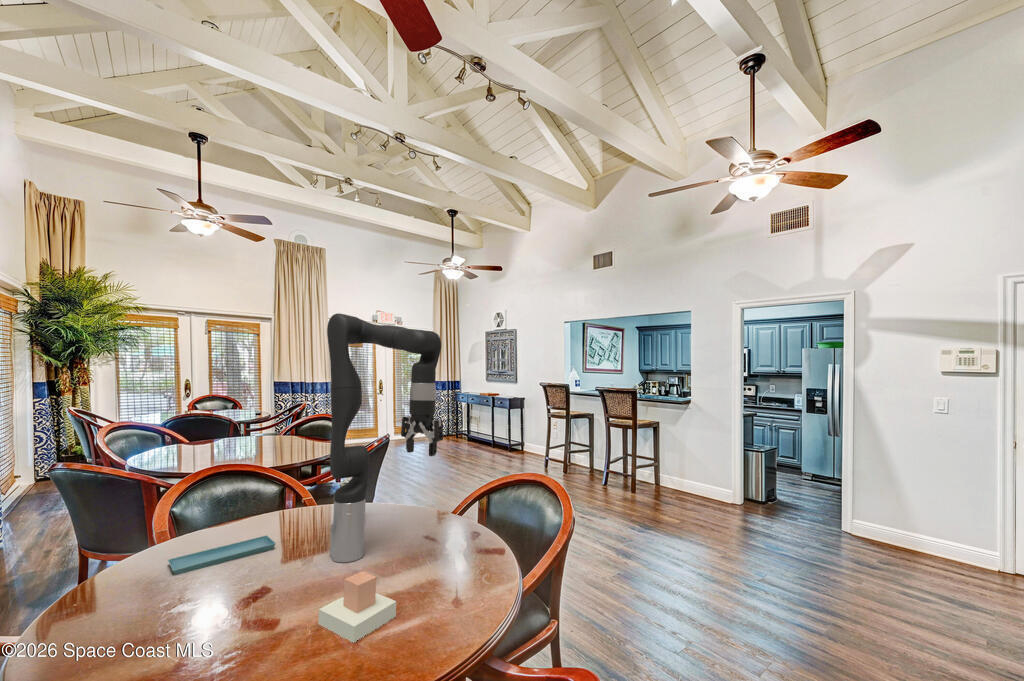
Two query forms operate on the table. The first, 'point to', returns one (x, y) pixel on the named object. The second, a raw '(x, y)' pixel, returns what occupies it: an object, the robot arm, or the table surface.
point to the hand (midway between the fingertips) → (421, 453)
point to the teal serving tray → (221, 554)
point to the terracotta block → (359, 591)
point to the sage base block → (356, 617)
